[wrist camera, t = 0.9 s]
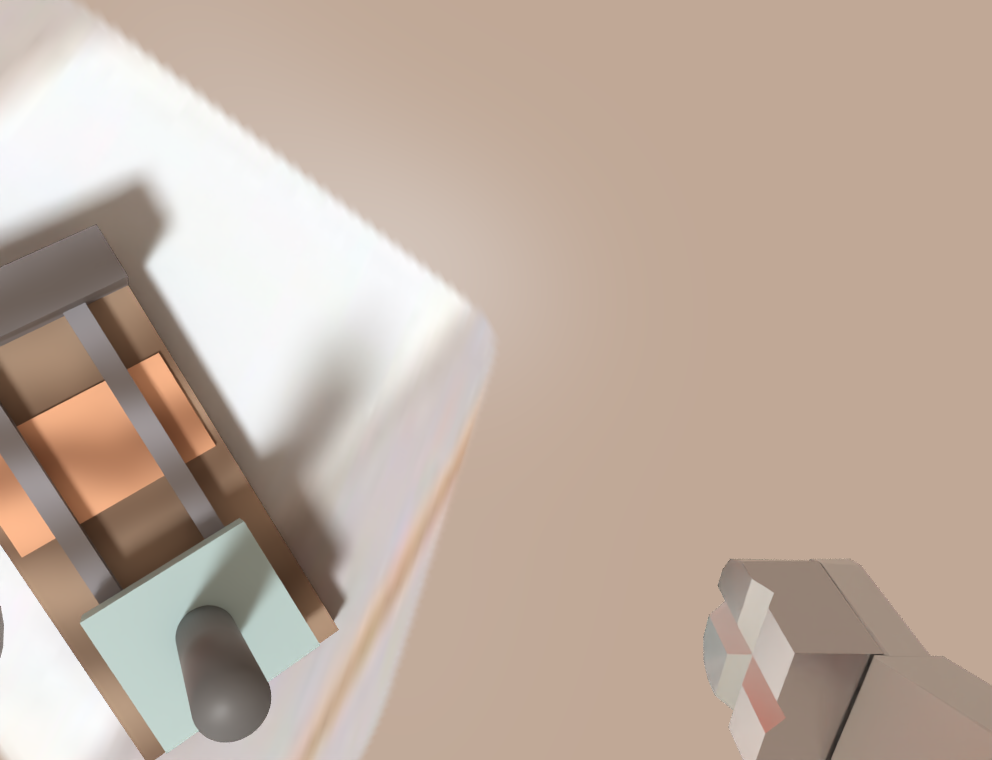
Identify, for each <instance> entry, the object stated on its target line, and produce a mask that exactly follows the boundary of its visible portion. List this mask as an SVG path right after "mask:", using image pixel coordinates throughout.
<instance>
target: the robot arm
mask: <svg viewBox="0 0 992 760" xmlns="http://www.w3.org/2000/svg"><path fill="white" fill-rule="evenodd" d="M718 587H719V589H720V591H721V593H722V595H723V597H724V599H725V602H723V603H722V604H721V605H720V606H719V607H718V608H717V609H715V610H714V611H713V612H712V613H711V614H710V615H709V617H708V622H707V625H706V629H705V634H704V663H705V668H706V673H707V677H708V680H709V682H710V685H711V687H712V690H713V692H714V694H715V696H716V697H718V698H719V699H720V700H721V701H722V702H724V703H725V704H726V705H727V706H729V707H730V708H731V709H733V710H734V711H733V714H732V717H731V721H730V724H729V729H730V731H731V734H732V736H733V738H734V741H735V743H736V745H737V747H738V750H739V752H740V754H741V756H742V759H743V760H992V685H990V684H989V683H987V682H985V681H984V680H982V679H980V678H979V677H977V676H975V675H974V674H972V673H970V672H968V671H967V670H965V669H964V668H962V667H960V666H959V665H957V664H955V663H953V662H952V661H950V660H949V659H947V658H945V657H944V656H930V655H929V653H928V652H927V651H926V649H925V648H924V647H923V645H922V644H921V643H920V642H919V640H918V639H917V638H916V636H915V635H914V634H913V632H912V631H911V630H910V628H909V627H908V626H907V625H906V623H905V622H904V621H903V619H902V618H901V617H900V615H899V614H898V613H897V612H896V610H895V609H894V608H893V606H892V605H891V604H890V602H889V601H888V600H887V598H886V597H885V596H884V594H883V593H882V592H881V591H880V589H879V588H878V587H877V585H876V584H875V583H874V581H873V580H872V579H871V578H870V576H869V575H868V574H867V572H866V571H865V570H864V568H863V567H862V566H861V565H860V564H858V563H856V562H855V561H853V560H851V559H810V560H768V559H765V560H763V559H730V560H729V561H728V563H727V564H726V565H725V567H724V568H723V570H722V574H721V577H720V580H719V583H718ZM3 633H4V623H3V617H2V611H1V606H0V657H1V653H2V649H3Z"/></svg>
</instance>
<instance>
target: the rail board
mask: <svg viewBox="0 0 992 760" xmlns="http://www.w3.org/2000/svg"><path fill="white" fill-rule="evenodd" d="M238 518H240V519H242V520H243V521H244V522H245V524H246V525H247V527H248V529H249V530H250V532H251V533H252V535H253V537H254V538H255V540H256V542H257V543H258V545H259V546H260V548H261V550H262V551H263V553H264V554H265V556H266V558H267V559H268V561H269V563H270V564H271V566H272V567H273V569H274V571H275V572H276V574H277V576H278V577H279V579H280V580H281V582H282V584H283V585H284V587H285V589H286V590H287V592H288V593H289V595H290V597H291V598H292V600H293V602H294V603H295V605H296V606H297V608H298V610H299V611H300V613H301V614H302V616H303V618H304V619H305V621H306V623H307V624H308V626H309V627H310V629H311V631H312V632H313V634H314V636H315V637H316V639H317V640H318V642H319V643H321V642H322V641H324V640H325V639H326V638H328V637H329V636H331V635H332V634H334V633H335V632H336V631H338V630H339V629H338V628H337V626H336V625H335V623H334V621H333V620H332V618H331V616H330V615H329V613H328V611H327V610H326V608H325V607H324V605H323V603H322V602H321V600H320V598H319V597H318V595H317V593H316V592H315V590H314V589H313V587H312V585H311V584H310V582H309V580H308V579H307V577H306V575H305V574H304V572H303V571H302V569H301V567H300V566H299V564H298V562H297V561H296V559H295V557H294V556H293V554H292V552H291V551H290V549H289V548H288V546H287V544H286V543H285V541H284V539H283V538H282V536H281V534H280V533H279V531H278V530H277V528H276V526H275V525H274V523H273V521H272V520H271V518H270V516H269V515H268V513H267V512H266V510H265V508H264V507H263V505H262V503H261V502H260V500H259V498H258V497H257V495H256V494H255V492H254V490H253V489H252V487H251V485H250V484H249V482H248V480H247V479H246V477H245V476H244V474H243V472H242V471H241V469H240V467H239V466H238V464H237V462H236V461H235V459H234V458H233V456H232V454H231V453H230V451H229V449H228V448H227V446H226V444H225V443H224V441H223V440H222V438H221V436H220V435H219V433H218V431H217V430H216V428H215V426H214V425H213V423H212V422H211V420H210V418H209V417H208V415H207V413H206V412H205V410H204V408H203V407H202V405H201V404H200V402H199V400H198V399H197V397H196V395H195V394H194V392H193V390H192V389H191V387H190V386H189V384H188V382H187V381H186V379H185V377H184V376H183V374H182V372H181V371H180V369H179V368H178V366H177V364H176V363H175V361H174V359H173V358H172V356H171V354H170V353H169V351H168V350H167V348H166V346H165V345H164V343H163V341H162V340H161V338H160V336H159V335H158V333H157V332H156V330H155V328H154V327H153V325H152V323H151V322H150V320H149V318H148V317H147V315H146V314H145V312H144V310H143V309H142V307H141V305H140V304H139V302H138V300H137V299H136V297H135V296H134V294H133V292H132V291H131V289H130V287H129V286H128V275H127V273H126V272H125V270H124V269H123V267H122V265H121V264H120V262H119V260H118V259H117V257H116V255H115V254H114V252H113V251H112V249H111V247H110V246H109V244H108V242H107V241H106V239H105V237H104V236H103V234H102V232H101V231H100V229H99V228H98V226H97V224H96V225H93V226H91V227H89V228H87V229H85V230H82V231H80V232H78V233H76V234H73V235H71V236H69V237H67V238H64V239H62V240H60V241H58V242H55V243H53V244H51V245H49V246H46V247H44V248H42V249H40V250H37V251H35V252H33V253H31V254H28V255H26V256H24V257H22V258H19V259H17V260H15V261H13V262H11V263H8V264H6V265H4V266H2V267H0V545H1V546H2V548H3V549H4V551H5V552H6V553H7V555H8V556H9V558H10V559H11V561H12V562H13V564H14V565H15V567H16V568H17V570H18V571H19V573H20V574H21V576H22V577H23V579H24V580H25V582H26V583H27V585H28V586H29V588H30V589H31V591H32V592H33V594H34V595H35V597H36V598H37V600H38V601H39V603H40V604H41V606H42V607H43V609H44V610H45V612H46V613H47V615H48V616H49V617H50V619H51V620H52V622H53V623H54V625H55V626H56V628H57V629H58V631H59V632H60V634H61V635H62V637H63V638H64V640H65V641H66V643H67V644H68V646H69V647H70V649H71V650H72V652H73V653H74V655H75V656H76V658H77V659H78V661H79V662H80V664H81V665H82V667H83V668H84V670H85V671H86V673H87V674H88V676H89V677H90V679H91V680H92V682H93V683H94V684H95V686H96V687H97V689H98V690H99V692H100V693H101V695H102V696H103V698H104V699H105V701H106V702H107V704H108V705H109V707H110V708H111V710H112V711H113V713H114V714H115V716H116V717H117V719H118V720H119V722H120V723H121V725H122V726H123V728H124V729H125V731H126V732H127V734H128V735H129V737H130V738H131V740H132V741H133V743H134V744H135V746H136V747H137V748H138V750H139V751H140V753H141V754H142V756H143V757H144V759H145V760H155V759H156V758H158V757H159V756H161V755H162V754H163V753H165V750H164V749H163V747H162V746H161V744H160V743H159V741H158V740H157V738H156V737H155V735H154V734H153V732H152V731H151V729H150V728H149V726H148V725H147V723H146V722H145V720H144V719H143V717H142V716H141V714H140V713H139V711H138V710H137V708H136V707H135V705H134V704H133V702H132V701H131V699H130V698H129V696H128V695H127V693H126V692H125V690H124V689H123V687H122V686H121V684H120V683H119V681H118V680H117V678H116V677H115V675H114V674H113V672H112V671H111V669H110V668H109V666H108V665H107V663H106V662H105V660H104V659H103V657H102V656H101V654H100V653H99V651H98V650H97V648H96V647H95V645H94V644H93V642H92V641H91V639H90V638H89V636H88V635H87V633H86V632H85V630H84V629H83V627H82V626H81V624H80V621H81V617H82V615H83V614H85V613H86V612H88V611H90V610H91V609H93V608H94V607H96V606H98V605H99V604H101V603H102V602H104V601H106V600H107V599H109V598H111V597H112V596H114V595H115V594H117V593H119V592H120V591H122V590H124V589H125V588H127V587H128V586H130V585H132V584H133V583H135V582H136V581H138V580H140V579H141V578H143V577H145V576H146V575H148V574H149V573H151V572H153V571H154V570H156V569H157V568H159V567H161V566H162V565H164V564H166V563H167V562H169V561H170V560H172V559H174V558H175V557H177V556H179V555H180V554H182V553H183V552H185V551H187V550H188V549H190V548H191V547H193V546H195V545H196V544H198V543H200V542H201V541H203V540H204V539H206V538H208V537H209V536H211V535H213V534H214V533H216V532H217V531H219V530H221V529H222V528H224V527H225V526H227V525H229V524H230V523H232V522H234V521H235V520H237V519H238Z"/></svg>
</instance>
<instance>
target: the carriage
mask: <svg viewBox="0 0 992 760" xmlns="http://www.w3.org/2000/svg"><path fill="white" fill-rule="evenodd" d="M80 624H81V626H82V627H83V629H84V630H85V632H86V633H87V635H88V636H89V638H90V639H91V641H92V642H93V644H94V645H95V647H96V648H97V650H98V651H99V653H100V654H101V656H102V657H103V659H104V660H105V662H106V663H107V665H108V666H109V668H110V669H111V671H112V672H113V674H114V675H115V677H116V678H117V680H118V681H119V683H120V684H121V686H122V687H123V689H124V690H125V692H126V693H127V695H128V696H129V698H130V699H131V701H132V702H133V704H134V705H135V707H136V708H137V710H138V711H139V713H140V714H141V716H142V717H143V719H144V720H145V722H146V723H147V725H148V726H149V728H150V729H151V731H152V732H153V734H154V735H155V737H156V738H157V740H158V741H159V743H160V744H161V746H162V747H163V749H164V750H165V752H166V753H168V752H170V751H171V750H173V749H174V748H175V747H177V746H178V745H180V744H181V743H183V742H184V741H185V740H187V739H188V738H190V737H191V736H192V735H194V734H195V733H197V732H198V731H199V732H201V733H202V734H203V735H204V736H205V737H207V738H209V739H211V740H214V741H217V742H234V741H238V740H241V739H243V738H245V737H247V736H249V735H250V734H252V733H253V732H254V731H255V730H256V729H257V728H258V727H259V726H260V725H261V724H262V723H263V721H264V720H265V718H266V716H267V714H268V712H269V708H270V704H271V690H270V686H269V684H268V682H269V681H270V680H272V679H273V678H275V677H276V676H277V675H279V674H280V673H282V672H283V671H284V670H286V669H287V668H289V667H290V666H292V665H293V664H294V663H296V662H297V661H299V660H300V659H301V658H303V657H304V656H306V655H307V654H309V653H310V652H311V651H313V650H314V649H316V648H317V647H318V646H320V644H319V642H318V640H317V639H316V637H315V636H314V634H313V632H312V631H311V629H310V627H309V626H308V624H307V623H306V621H305V619H304V618H303V616H302V614H301V613H300V611H299V610H298V608H297V606H296V605H295V603H294V602H293V600H292V598H291V597H290V595H289V593H288V592H287V590H286V589H285V587H284V585H283V584H282V582H281V580H280V579H279V577H278V576H277V574H276V572H275V571H274V569H273V567H272V566H271V564H270V563H269V561H268V559H267V558H266V556H265V554H264V553H263V551H262V550H261V548H260V546H259V545H258V543H257V542H256V540H255V538H254V537H253V535H252V533H251V532H250V530H249V529H248V527H247V525H246V524H245V522H244V521H243V520H242V519H240V518H238V519H237V520H235V521H234V522H232V523H230V524H229V525H227V526H225V527H224V528H222V529H221V530H219V531H217V532H216V533H214V534H213V535H211V536H209V537H208V538H206V539H204V540H203V541H201V542H200V543H198V544H196V545H195V546H193V547H191V548H190V549H188V550H187V551H185V552H183V553H182V554H180V555H179V556H177V557H175V558H174V559H172V560H170V561H169V562H167V563H166V564H164V565H162V566H161V567H159V568H157V569H156V570H154V571H153V572H151V573H149V574H148V575H146V576H145V577H143V578H141V579H140V580H138V581H136V582H135V583H133V584H132V585H130V586H128V587H127V588H125V589H124V590H122V591H120V592H119V593H117V594H115V595H114V596H112V597H111V598H109V599H107V600H106V601H104V602H102V603H101V604H99V605H98V606H96V607H94V608H93V609H91V610H90V611H88V612H86V613H85V614H83V615H82V617H81V621H80Z"/></svg>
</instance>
